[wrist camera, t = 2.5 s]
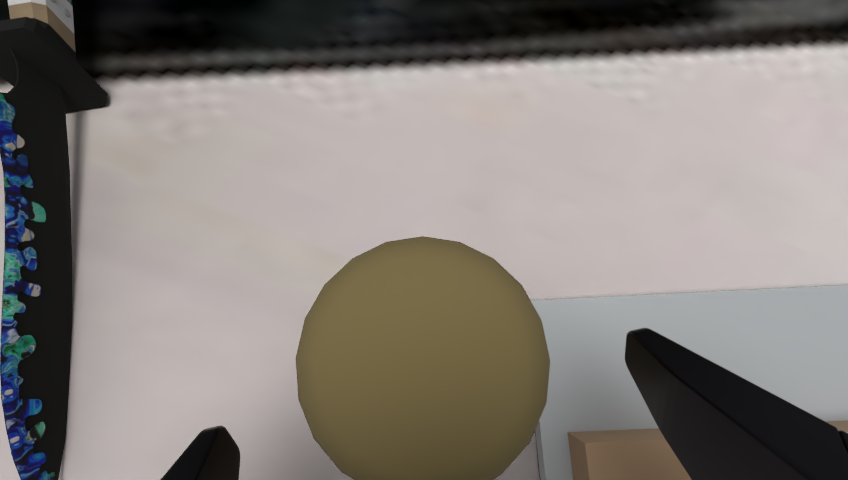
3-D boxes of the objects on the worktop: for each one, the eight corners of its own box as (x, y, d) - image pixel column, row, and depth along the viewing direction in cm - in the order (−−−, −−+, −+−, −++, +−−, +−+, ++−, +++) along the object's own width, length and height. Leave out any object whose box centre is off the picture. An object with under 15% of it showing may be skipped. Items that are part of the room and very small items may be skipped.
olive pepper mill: (533, 373, 18) (674, 404, 7) (414, 465, 17) (370, 655, 6) (447, 257, 19) (455, 138, 8) (333, 338, 18) (186, 319, 8)
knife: (59, -102, 24) (-29, -195, 19) (112, -109, 24) (37, -204, 19) (41, 488, 19) (-79, 544, 15) (108, 482, 19) (7, 536, 15)
